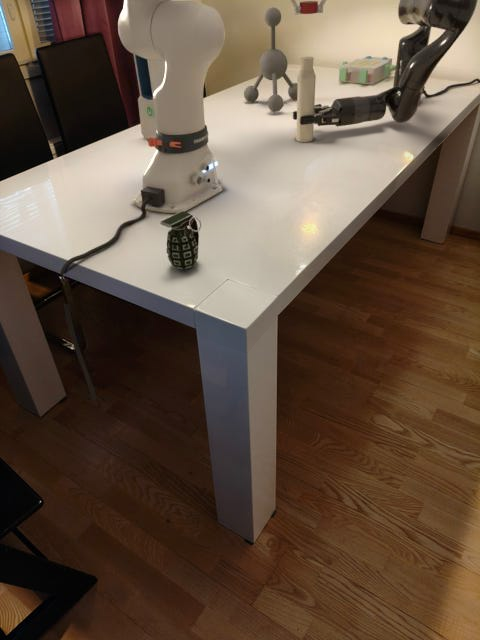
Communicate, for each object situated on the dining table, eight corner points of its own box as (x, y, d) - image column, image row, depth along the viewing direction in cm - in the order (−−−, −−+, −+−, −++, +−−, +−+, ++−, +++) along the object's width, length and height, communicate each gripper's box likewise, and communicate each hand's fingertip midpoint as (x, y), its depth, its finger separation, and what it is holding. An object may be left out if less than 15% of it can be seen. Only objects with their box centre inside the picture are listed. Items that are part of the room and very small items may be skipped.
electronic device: (141, 137, 154) (123, 28, 136) (159, 131, 158) (144, 24, 140) (166, 145, 147) (151, 30, 129) (185, 138, 151) (172, 26, 133)
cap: (295, 13, 126) (295, 2, 125) (307, 11, 129) (308, 0, 127) (309, 14, 123) (309, 3, 122) (321, 12, 126) (321, 1, 124)
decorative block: (357, 54, 211) (402, 57, 202) (356, 70, 215) (400, 74, 206) (330, 65, 195) (377, 69, 186) (329, 83, 199) (375, 87, 190)
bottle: (309, 135, 148) (312, 55, 135) (315, 140, 144) (319, 58, 131) (294, 137, 147) (295, 57, 134) (299, 142, 143) (301, 60, 130)
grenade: (182, 278, 88) (175, 228, 82) (162, 268, 91) (153, 219, 85) (208, 263, 92) (203, 214, 85) (187, 253, 95) (181, 205, 89)
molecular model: (322, 103, 175) (328, 5, 157) (274, 116, 166) (273, 12, 147) (282, 92, 191) (282, 1, 172) (235, 103, 181) (230, 8, 163)
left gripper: (269, -51, 115) (270, 17, 123) (355, -57, 115) (350, 12, 124) (266, -52, 120) (267, 14, 128) (348, -57, 120) (344, 9, 129)
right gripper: (341, 92, 148) (288, 98, 144) (363, 103, 137) (306, 110, 133) (339, 117, 152) (288, 124, 149) (360, 130, 141) (305, 138, 138)
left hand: (308, 13), depth 126 cm, fingers closed on cap, 4 cm apart
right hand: (297, 118), depth 141 cm, fingers closed on bottle, 5 cm apart
